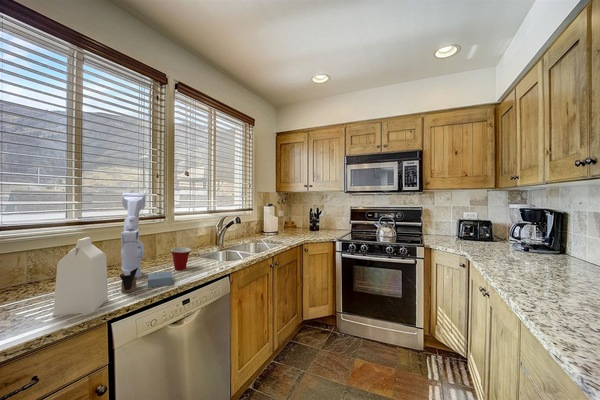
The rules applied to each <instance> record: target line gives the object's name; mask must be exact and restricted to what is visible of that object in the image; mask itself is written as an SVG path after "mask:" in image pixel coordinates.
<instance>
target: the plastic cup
mask: <svg viewBox="0 0 600 400" xmlns="http://www.w3.org/2000/svg"><path fill="white" fill-rule="evenodd" d="M170 251H171V254H172V261H173V268H174V271H184V270H186V268H187V263H188V261H189V255H190V253H191V251H192V249H191V248H190V247H183V246H182V247H181V246H180V247H178V246H177V247H173V248H171V249H170Z"/></svg>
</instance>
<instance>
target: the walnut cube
mask: <svg viewBox="0 0 600 400" xmlns="http://www.w3.org/2000/svg"><path fill="white" fill-rule="evenodd" d="M137 279H138V278H137V277H134V278H133V282H132V287H131V290H125V289H124V285H123V281H122V280H121V289H120V290H121V292H120V293H121V294H123V293H130V292H135V291H136V288H137Z"/></svg>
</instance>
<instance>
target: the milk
mask: <svg viewBox="0 0 600 400" xmlns="http://www.w3.org/2000/svg"><path fill="white" fill-rule="evenodd" d="M107 265H108V264H107V255H106V253H105V252H104V251H102V250H101V249H100V248H98V247H97V246H95V245H94V244H92V238H91V237H88V236H87V237H84V238H80V239H77V242H76V244H75V247H73V248H72V249H70V250H69V251H68V253H67V254H66V255H64V256H63V257H61V259H60V260H59V261H58V262H57V264H56V274H55V276H56V278H55V287H54V288H55V290H54V300H53V312H52V317H53V316H55V317H56V316H66V315H67V316H68V314H69V315H79V314H78V313H81V314H90V313H94V312H95V311H96V310H97V309H98V308H100V306H102V305H103V304H104V303H106V302H107V301H108V300H109V295H108V291H109V290H108V273H107V272H108V270H107V269H108V267H107Z"/></svg>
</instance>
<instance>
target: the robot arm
mask: <svg viewBox="0 0 600 400" xmlns="http://www.w3.org/2000/svg"><path fill="white" fill-rule="evenodd" d="M121 203H122V207H123V208H124V209H125V210H127V216H126V218H125V219H124V221H123V222H124V223H123V228H122V229H123V230H122V231H121V235H120V242H121V251H120V258H121V267H120V270H122V272H123V273H120V274H119V278H120V280H121V282H122V281H123V285H124V289H125V290H131V287H132V282H133V278H134V277H137V279H138V278H139V279H140V278H141V277H142V275H143V271H142V259H143V258H145V244H144V242H142V241H140V230H139V228H140V227H139V226H140V224H139V223H140V212H141V210H143V209H145V207H146V193H144V192H143V193H141V192H123V193H122V195H121Z"/></svg>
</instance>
